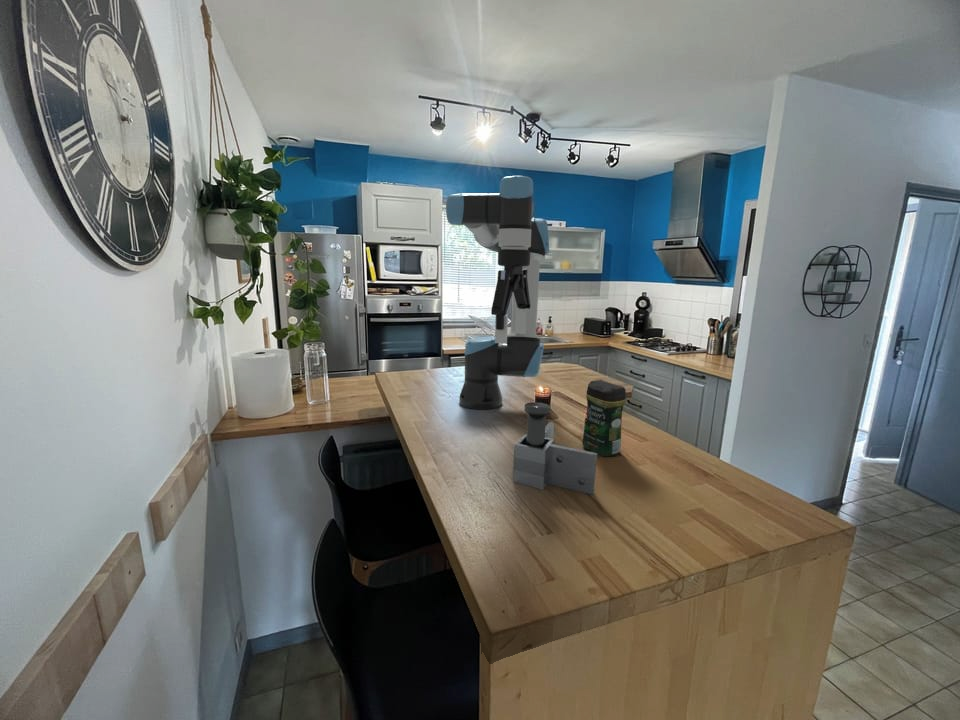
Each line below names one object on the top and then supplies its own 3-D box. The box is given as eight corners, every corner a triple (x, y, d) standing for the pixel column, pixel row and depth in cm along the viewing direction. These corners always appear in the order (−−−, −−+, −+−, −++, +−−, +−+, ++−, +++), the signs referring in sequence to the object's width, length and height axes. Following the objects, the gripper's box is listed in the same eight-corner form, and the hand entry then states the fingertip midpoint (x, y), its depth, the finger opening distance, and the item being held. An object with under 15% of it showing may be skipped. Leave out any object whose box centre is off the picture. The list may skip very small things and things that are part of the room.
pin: (525, 471, 97) (529, 400, 94) (548, 476, 95) (553, 404, 92) (516, 481, 92) (521, 407, 89) (541, 487, 90) (546, 411, 87)
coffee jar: (576, 446, 112) (581, 379, 108) (597, 440, 116) (603, 376, 112) (604, 460, 104) (610, 389, 100) (625, 453, 108) (632, 385, 104)
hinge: (536, 452, 107) (538, 420, 105) (604, 467, 100) (607, 432, 98) (512, 482, 92) (514, 444, 90) (590, 501, 85) (593, 461, 83)
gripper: (517, 249, 109) (514, 329, 114) (477, 247, 87) (475, 346, 92) (544, 249, 106) (540, 331, 111) (510, 247, 84) (507, 349, 89)
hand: (511, 338), depth 102 cm, fingers open, 13 cm apart
